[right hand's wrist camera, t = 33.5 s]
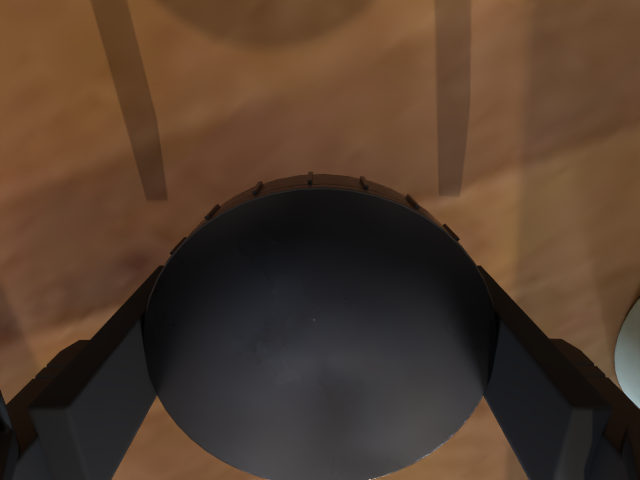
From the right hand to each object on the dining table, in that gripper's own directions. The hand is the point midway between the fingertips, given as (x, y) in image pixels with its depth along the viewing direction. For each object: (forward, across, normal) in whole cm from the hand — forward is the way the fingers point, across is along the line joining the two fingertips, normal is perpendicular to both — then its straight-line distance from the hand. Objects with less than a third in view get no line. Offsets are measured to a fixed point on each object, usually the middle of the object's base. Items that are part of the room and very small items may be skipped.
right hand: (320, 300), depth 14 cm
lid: (-3, 0, 0) cm, 3 cm away
